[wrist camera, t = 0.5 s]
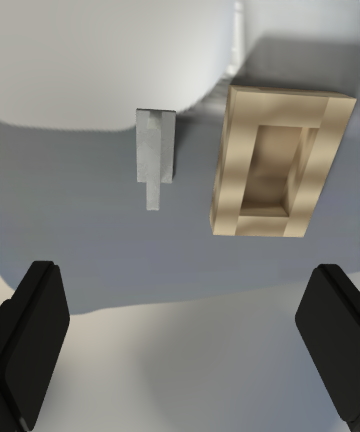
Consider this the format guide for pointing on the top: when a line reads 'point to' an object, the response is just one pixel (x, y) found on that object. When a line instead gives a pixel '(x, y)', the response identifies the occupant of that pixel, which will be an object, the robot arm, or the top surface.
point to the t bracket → (155, 150)
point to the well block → (275, 158)
